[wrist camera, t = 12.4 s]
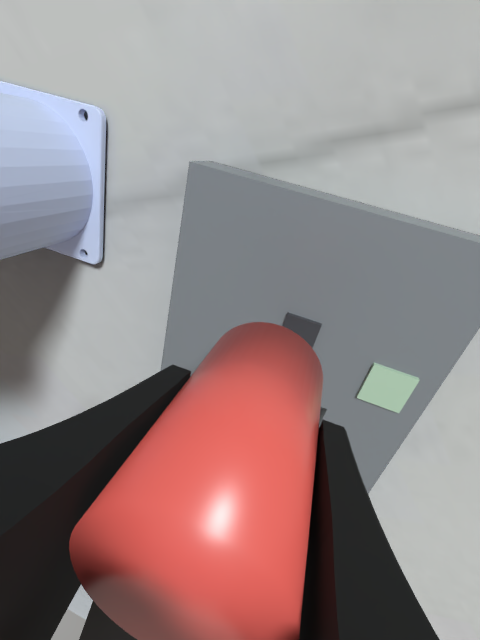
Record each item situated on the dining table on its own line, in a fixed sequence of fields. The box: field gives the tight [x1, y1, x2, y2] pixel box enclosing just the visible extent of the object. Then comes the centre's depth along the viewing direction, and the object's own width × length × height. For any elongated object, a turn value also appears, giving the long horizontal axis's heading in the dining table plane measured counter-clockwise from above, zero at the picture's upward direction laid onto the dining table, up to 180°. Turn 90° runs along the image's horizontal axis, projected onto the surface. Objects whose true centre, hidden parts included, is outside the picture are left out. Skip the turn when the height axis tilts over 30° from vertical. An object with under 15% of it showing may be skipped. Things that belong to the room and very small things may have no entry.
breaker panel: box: [161, 161, 480, 493], centre depth 19 cm, size 13×22×3 cm, turn 166°
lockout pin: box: [69, 322, 323, 640], centre depth 9 cm, size 4×4×7 cm
